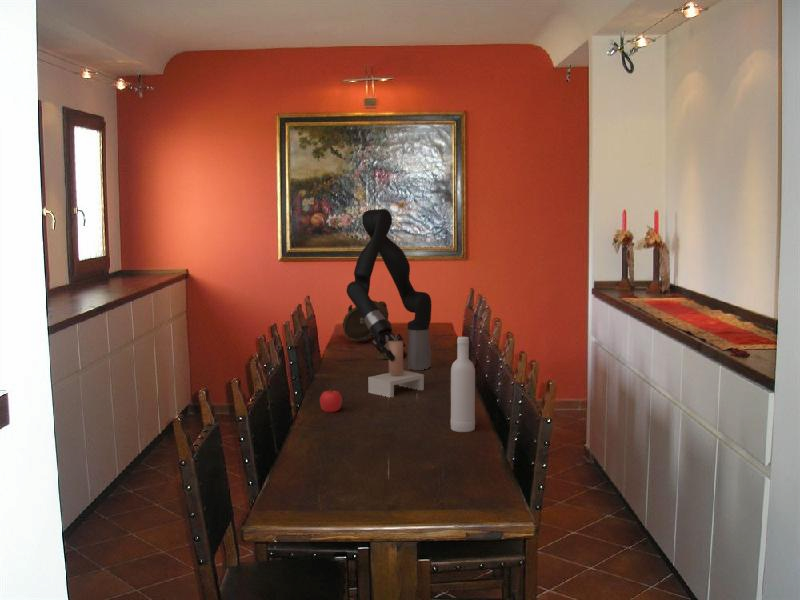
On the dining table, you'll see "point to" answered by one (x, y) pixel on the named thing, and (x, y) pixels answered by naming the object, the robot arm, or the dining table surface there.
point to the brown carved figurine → (382, 356)
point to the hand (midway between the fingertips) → (399, 358)
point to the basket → (360, 323)
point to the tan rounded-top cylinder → (396, 356)
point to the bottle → (462, 389)
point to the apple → (330, 401)
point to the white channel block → (394, 382)
